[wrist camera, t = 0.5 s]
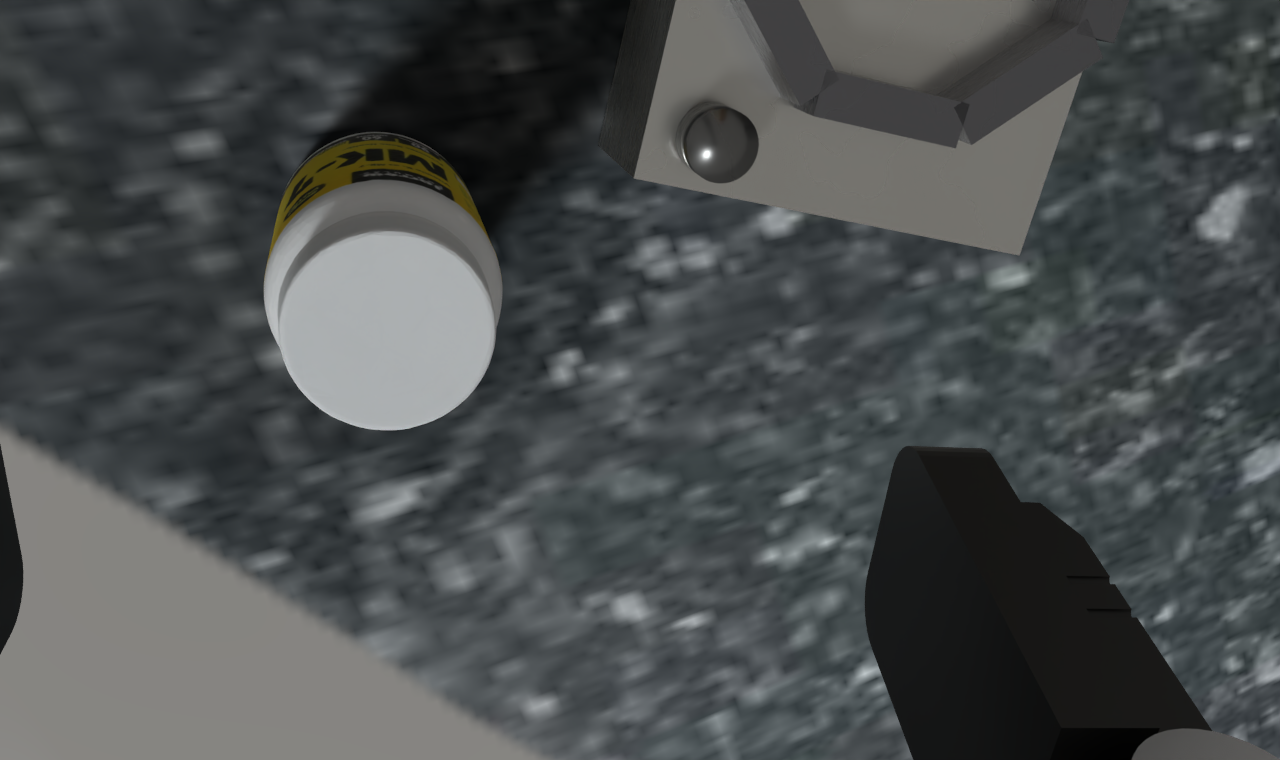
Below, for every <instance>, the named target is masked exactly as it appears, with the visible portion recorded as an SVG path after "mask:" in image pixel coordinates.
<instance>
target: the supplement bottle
mask: <svg viewBox="0 0 1280 760" xmlns="http://www.w3.org/2000/svg"><path fill="white" fill-rule="evenodd" d="M264 302H265V309H266V314H267V318H268V322H269V325H270V328H271V331H272V333H273V335H274V337H275V340H276V342H277V344H278V346H279V347H280V349H281V353H282V356H283V360H284V362H285V365H286V367H287V370H288V372H289V373H290V375H291V377H292V379H293V380H294V382H295V383H296V385H297V386H298V387H299V389H300V390H301V391H302V392H303V394H304V395H305V396H306V397H307V398H308V399H309V400H310V401H311V402H313V403H314V404H315V405H316V406H317V407H318V408H320V409H321V410H322V411H324V412H326V413H327V414H329V415H330V416H332V417H334V418H336V419H339V420H341V421H343V422H346V423H348V424H351V425H354V426H358V427H362V428H367V429H374V430H401V429H408V428H412V427H415V426H419V425H423V424H426V423H428V422H431V421H434V420H436V419H437V418H440V417H442V416H444V415H445V414H447V413H448V412H450V411H451V410H453V409H454V408H456V407H457V406H458V405H459V404H461V403H462V402H463V401H464V400H465V399H466V398H467V397H468V396H469V395H470V394H471V393H472V392H473V391H474V389H475V388H476V386H477V385H478V384H479V382H480V381H481V379H482V377H483V376H484V374H485V372H486V370H487V368H488V366H489V363H490V360H491V357H492V354H493V350H494V346H495V338H496V327H497V324H498V320H499V316H500V311H501V305H502V277H501V272H500V267H499V263H498V260H497V256H496V253H495V251H494V249H493V246H492V244H491V242H490V239H489V237H488V235H487V232H486V230H485V227H484V225H483V223H482V221H481V218H480V216H479V214H478V211H477V209H476V207H475V204H474V202H473V199H472V197H471V195H470V193H469V190H468V188H467V186H466V184H465V182H464V180H463V179H462V177H461V176H460V174H459V173H458V172H457V171H456V170H455V169H454V168H453V166H452V165H451V164H450V163H449V162H448V161H447V160H446V159H445V158H443V157H442V156H441V155H440V154H439V153H437V152H436V151H435V150H433V149H432V148H430V147H429V146H427V145H425V144H423V143H421V142H419V141H417V140H415V139H412V138H409V137H406V136H403V135H399V134H394V133H387V132H364V133H357V134H353V135H349V136H346V137H343V138H340V139H338V140H335V141H333V142H331V143H329V144H327V145H325V146H323V147H322V148H320V149H319V150H317V151H316V152H315V153H313V154H312V155H311V156H310V157H308V158H307V159H306V160H305V161H304V162H303V163H302V164H301V165H300V166H299V168H298V169H297V170H296V172H295V173H294V174H293V176H292V178H291V179H290V181H289V183H288V185H287V187H286V189H285V192H284V194H283V197H282V200H281V202H280V207H279V211H278V215H277V220H276V224H275V228H274V234H273V238H272V243H271V247H270V252H269V256H268V261H267V266H266V272H265V279H264Z"/></svg>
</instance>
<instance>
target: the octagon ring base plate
mask: <svg viewBox="0 0 1280 760" xmlns="http://www.w3.org/2000/svg"><path fill="white" fill-rule="evenodd" d="M1128 2H1129V0H631V2H630V6H629V10H628V15H627V19H626V24H625V28H624V33H623V37H622V41H621V46H620V50H619V55H618V59H617V64H616V68H615V72H614V77H613V81H612V86H611V90H610V95H609V99H608V103H607V108H606V112H605V117H604V121H603V126H602V130H601V134H600V139H599V143H598V146H599V147H600V148H601V149H602V150H603V151H604V152H606V153H607V154H608V155H609V156H610V157H611V158H612V159H613V160H614V161H615V162H617V163H618V164H619V165H620V166H621V167H622V168H623V169H624V170H625V171H626V172H627V173H629V174H630V175H631V176H632V177H633V178H635V179H640V180H645V181H650V182H655V183H660V184H665V185H670V186H675V187H680V188H685V189H690V190H695V191H700V192H705V193H710V194H715V195H720V196H725V197H730V198H735V199H740V200H745V201H750V202H755V203H760V204H765V205H770V206H775V207H780V208H785V209H790V210H795V211H800V212H805V213H810V214H815V215H820V216H825V217H830V218H835V219H840V220H845V221H850V222H855V223H860V224H865V225H870V226H875V227H880V228H885V229H890V230H895V231H900V232H905V233H910V234H915V235H920V236H925V237H930V238H935V239H940V240H945V241H950V242H955V243H960V244H965V245H970V246H975V247H980V248H985V249H990V250H995V251H1000V252H1005V253H1010V254H1015V255H1020V252H1021V249H1022V246H1023V243H1024V240H1025V238H1026V235H1027V232H1028V229H1029V226H1030V223H1031V220H1032V217H1033V214H1034V211H1035V208H1036V205H1037V202H1038V200H1039V197H1040V194H1041V191H1042V188H1043V185H1044V182H1045V179H1046V176H1047V173H1048V170H1049V167H1050V164H1051V162H1052V159H1053V156H1054V153H1055V150H1056V147H1057V144H1058V141H1059V138H1060V135H1061V132H1062V129H1063V126H1064V124H1065V121H1066V118H1067V115H1068V112H1069V109H1070V106H1071V103H1072V100H1073V97H1074V94H1075V91H1076V88H1077V86H1078V83H1079V80H1080V77H1081V74H1082V71H1084V70H1085V69H1087V68H1088V67H1090V66H1091V65H1093V64H1094V63H1096V62H1097V61H1099V60H1100V59H1102V58H1103V56H1102V54H1101V51H1100V49H1099V46H1098V44H1097V41H1096V40H1099V41H1105V42H1110V43H1114V42H1115V39H1116V36H1117V33H1118V31H1119V28H1120V25H1121V22H1122V19H1123V16H1124V13H1125V10H1126V8H1127V5H1128Z"/></svg>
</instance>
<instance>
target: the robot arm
mask: <svg viewBox="0 0 1280 760" xmlns="http://www.w3.org/2000/svg"><path fill="white" fill-rule="evenodd" d="M1109 577H1110V576H1109V575H1108V573H1107V572H1106V570H1105V569H1104V567H1103V566H1102V564H1101V563H1100V561H1099V560H1098V558H1097V557H1096V555H1095V554H1094V552H1093V551H1092V549H1091V548H1090V546H1089V545H1088V543H1087V542H1086V540H1085V539H1084V537H1082V536H1081V535H1080V534H1079V533H1077V532H1076V531H1075V530H1074V529H1072V528H1071V527H1070V526H1069V525H1067V524H1066V523H1065V522H1063V521H1062V520H1061V519H1060V518H1058V517H1057V516H1056V515H1055V514H1053V513H1052V512H1051V511H1050V510H1048V509H1047V508H1046V507H1044V506H1043V505H1042V504H1041V503H1029V502H1020V500H1019V499H1018V497H1017V495H1016V494H1015V492H1014V491H1013V489H1012V487H1011V486H1010V484H1009V482H1008V481H1007V479H1006V478H1005V476H1004V474H1003V473H1002V471H1001V469H1000V468H999V466H998V465H997V463H996V461H995V460H994V458H993V457H992V455H991V454H990V453H989V452H988V451H987V450H985V449H982V448H952V447H921V446H906V447H904V448H903V449H902V450H901V451H900V452H899V454H898V456H897V457H896V460H895V463H894V466H893V469H892V473H891V478H890V482H889V486H888V490H887V494H886V499H885V503H884V507H883V511H882V516H881V520H880V524H879V528H878V532H877V537H876V541H875V545H874V549H873V554H872V558H871V562H870V566H869V570H868V575H867V580H866V588H865V617H866V626H867V632H868V637H869V641H870V644H871V647H872V650H873V652H874V655H875V658H876V660H877V663H878V666H879V669H880V671H881V674H882V677H883V679H884V682H885V685H886V687H887V690H888V693H889V695H890V698H891V701H892V704H893V706H894V709H895V712H896V714H897V717H898V720H899V722H900V725H901V728H902V731H903V733H904V736H905V739H906V741H907V744H908V747H909V749H910V752H911V755H912V757H913V760H1280V759H1278V758H1276V757H1275V756H1273V755H1271V754H1270V753H1268V752H1266V751H1265V750H1263V749H1261V748H1258V747H1256V746H1254V745H1252V744H1250V743H1248V742H1245V741H1243V740H1240V739H1238V738H1235V737H1232V736H1229V735H1225V734H1221V733H1218V732H1214V731H1212V730H1211V728H1210V727H1209V725H1208V724H1207V722H1206V721H1205V719H1204V718H1203V716H1202V715H1201V713H1200V712H1199V710H1198V709H1197V707H1196V706H1195V704H1194V703H1193V701H1192V700H1191V698H1190V697H1189V695H1188V694H1187V692H1186V691H1185V689H1184V688H1183V686H1182V685H1181V683H1180V682H1179V680H1178V679H1177V677H1176V676H1175V674H1174V673H1173V671H1172V670H1171V668H1170V667H1169V665H1168V664H1167V662H1166V661H1165V659H1164V658H1163V656H1162V655H1161V653H1160V652H1159V650H1158V649H1157V647H1156V646H1155V644H1154V643H1153V641H1152V640H1151V638H1150V637H1149V635H1148V634H1147V632H1146V631H1145V629H1144V628H1143V626H1142V625H1141V623H1140V622H1139V620H1138V619H1137V618H1132V617H1131V608H1130V607H1129V605H1128V604H1127V602H1126V600H1125V599H1124V597H1123V596H1122V594H1121V593H1120V591H1119V590H1118V588H1117V587H1116V585H1115V584H1110V583H1109ZM22 589H23V562H22V555H21V550H20V544H19V540H18V534H17V529H16V524H15V518H14V513H13V508H12V503H11V498H10V493H9V487H8V482H7V477H6V472H5V467H4V461H3V456H2V451H1V446H0V654H1V652H2V650H3V648H4V646H5V644H6V642H7V640H8V638H9V637H10V634H11V633H12V630H13V628H14V625H15V623H16V620H17V616H18V613H19V609H20V603H21V598H22Z"/></svg>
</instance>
